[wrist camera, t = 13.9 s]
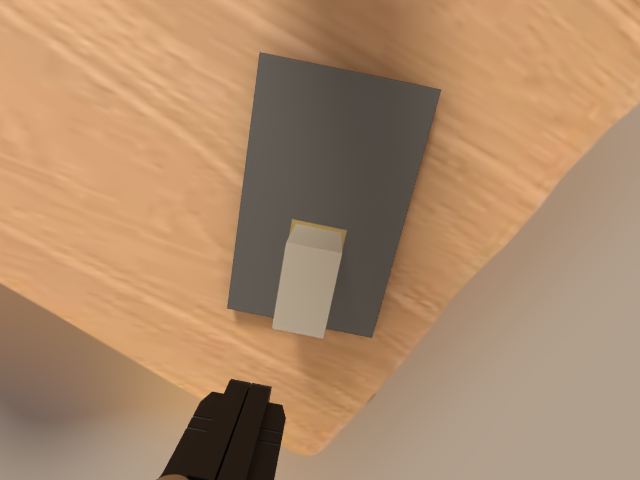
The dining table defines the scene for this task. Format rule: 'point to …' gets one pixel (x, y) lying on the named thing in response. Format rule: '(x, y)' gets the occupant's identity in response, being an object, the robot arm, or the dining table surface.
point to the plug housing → (307, 280)
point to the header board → (328, 180)
